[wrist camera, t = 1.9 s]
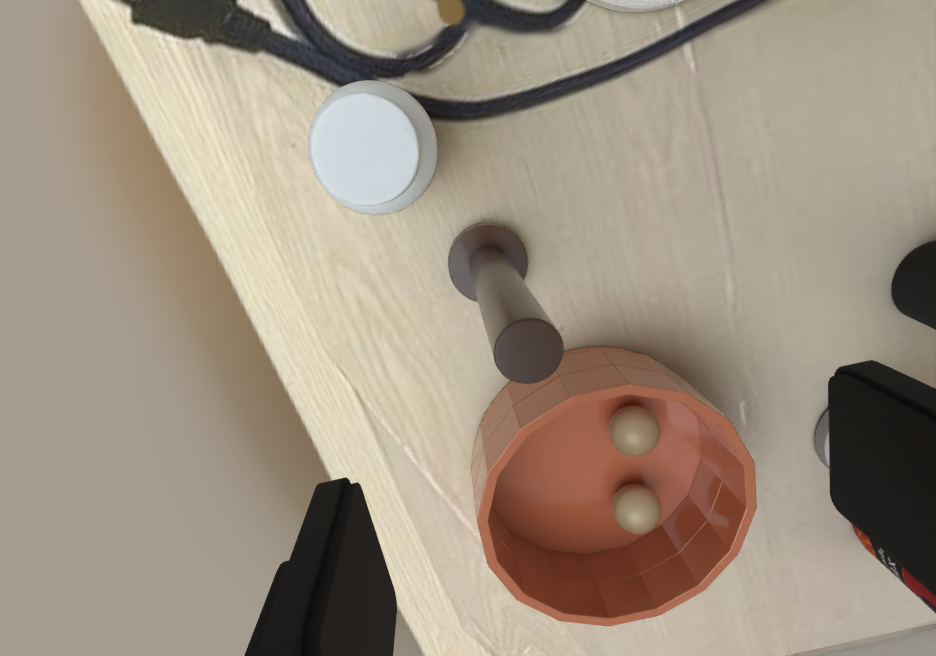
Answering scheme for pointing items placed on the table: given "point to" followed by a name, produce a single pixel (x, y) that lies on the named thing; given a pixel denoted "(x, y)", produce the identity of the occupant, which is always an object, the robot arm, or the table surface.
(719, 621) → the table surface
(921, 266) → the drinking cup
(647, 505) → the bead
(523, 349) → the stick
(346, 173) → the supplement bottle
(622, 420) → the bead
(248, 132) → the table surface
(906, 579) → the canned food
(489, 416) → the bowl
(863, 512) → the robot arm
